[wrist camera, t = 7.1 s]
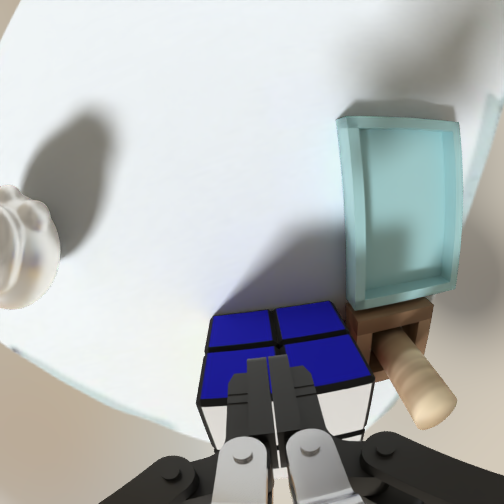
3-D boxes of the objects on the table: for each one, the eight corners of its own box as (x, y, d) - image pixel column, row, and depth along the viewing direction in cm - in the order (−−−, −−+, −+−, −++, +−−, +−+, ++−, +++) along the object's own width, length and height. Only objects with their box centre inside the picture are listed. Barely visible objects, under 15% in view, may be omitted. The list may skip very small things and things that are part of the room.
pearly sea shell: (101, 260, 22) (32, 321, 12) (34, 294, 23) (-28, 347, 13) (59, 161, 19) (-30, 172, 10) (-3, 210, 20) (-77, 239, 11)
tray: (336, 119, 19) (345, 116, 17) (443, 123, 19) (458, 122, 17) (346, 298, 23) (354, 311, 21) (442, 279, 23) (455, 288, 21)
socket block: (346, 303, 24) (358, 321, 21) (416, 290, 24) (433, 304, 21) (343, 367, 26) (352, 387, 23) (407, 352, 26) (420, 369, 23)
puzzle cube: (332, 298, 24) (378, 377, 14) (330, 386, 27) (358, 465, 17) (209, 314, 24) (193, 403, 14) (229, 399, 27) (227, 484, 17)
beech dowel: (365, 318, 24) (423, 405, 14) (397, 312, 24) (462, 389, 14) (363, 348, 25) (411, 435, 15) (393, 340, 25) (449, 420, 15)
